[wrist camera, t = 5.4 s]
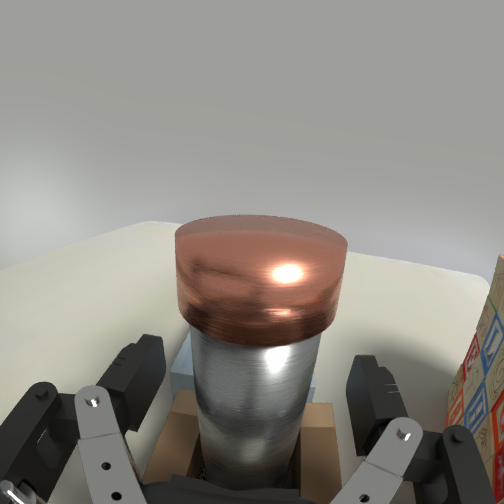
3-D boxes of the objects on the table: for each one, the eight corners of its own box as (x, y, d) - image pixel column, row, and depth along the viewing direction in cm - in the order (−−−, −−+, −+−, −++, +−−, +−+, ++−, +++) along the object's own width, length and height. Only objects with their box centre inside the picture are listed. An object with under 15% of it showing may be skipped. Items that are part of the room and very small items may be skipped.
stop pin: (194, 512, 11) (145, 253, 6) (210, 450, 15) (200, 211, 10) (284, 522, 10) (367, 271, 6) (287, 458, 15) (332, 221, 10)
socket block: (143, 533, 9) (127, 516, 8) (184, 419, 17) (179, 389, 16) (328, 555, 8) (345, 541, 7) (322, 432, 17) (331, 403, 16)
